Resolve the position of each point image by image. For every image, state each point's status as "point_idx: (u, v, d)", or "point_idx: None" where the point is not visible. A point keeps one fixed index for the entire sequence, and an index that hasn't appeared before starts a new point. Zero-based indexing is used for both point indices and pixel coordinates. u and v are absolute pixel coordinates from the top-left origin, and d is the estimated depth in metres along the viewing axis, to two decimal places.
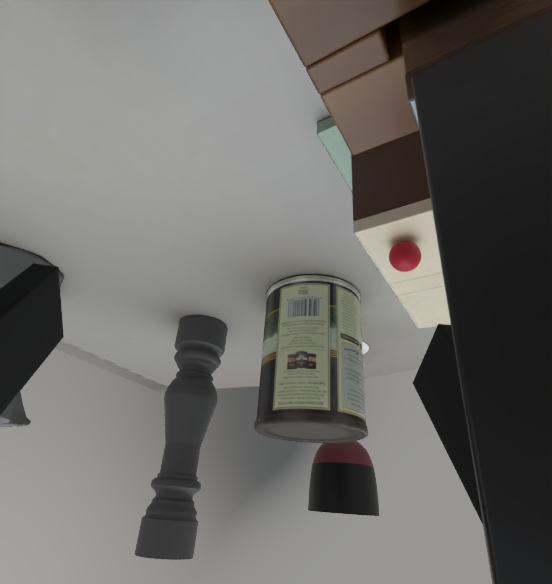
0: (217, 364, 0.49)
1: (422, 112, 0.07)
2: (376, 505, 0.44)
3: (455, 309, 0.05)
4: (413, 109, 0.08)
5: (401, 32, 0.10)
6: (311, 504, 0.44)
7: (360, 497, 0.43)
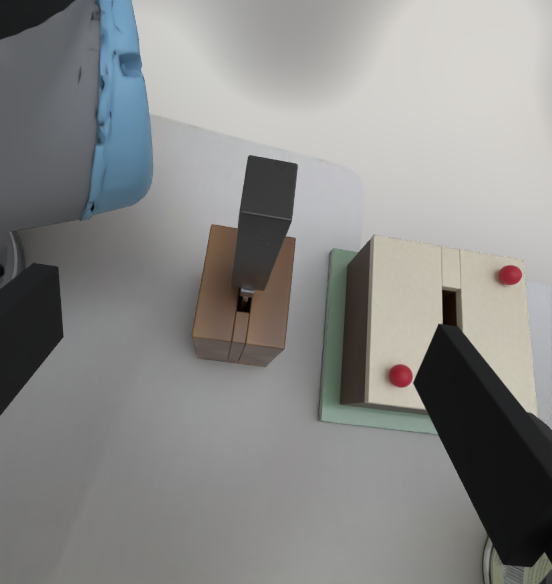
0: None
1: (232, 278, 0.22)
2: None
3: None
4: (244, 291, 0.23)
5: (241, 304, 0.26)
6: None
7: None
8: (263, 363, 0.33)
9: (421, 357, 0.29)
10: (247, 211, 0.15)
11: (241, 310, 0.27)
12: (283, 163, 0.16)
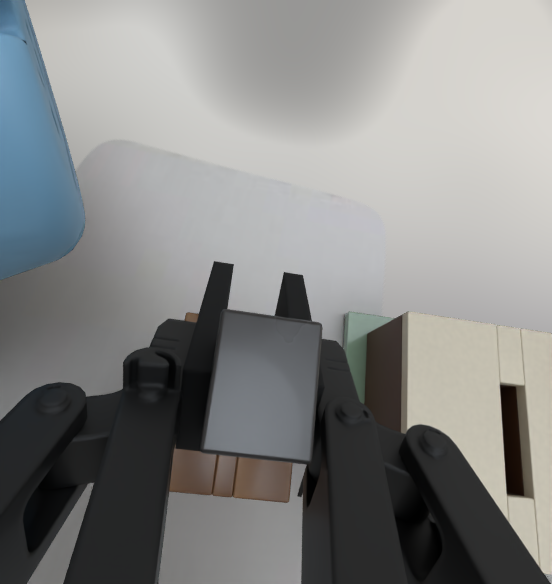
0: None
1: None
2: None
3: None
4: None
5: None
6: None
7: None
8: None
9: None
10: (216, 447, 0.07)
11: None
12: (292, 324, 0.08)
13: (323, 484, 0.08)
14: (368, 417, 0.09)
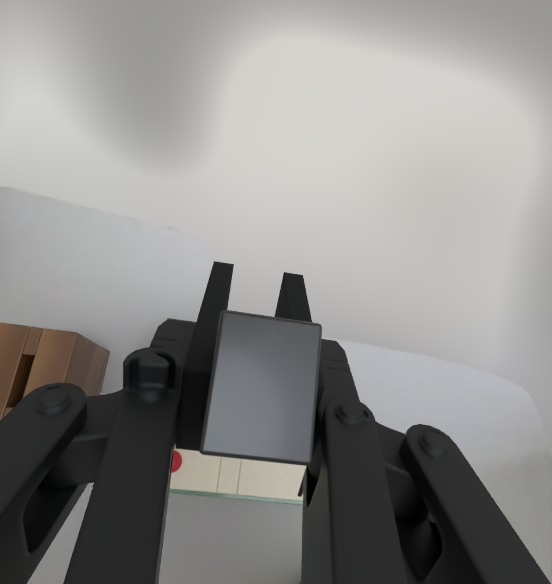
0: None
1: None
2: None
3: None
4: None
5: None
6: None
7: None
8: None
9: None
10: (215, 449, 0.07)
11: None
12: (292, 325, 0.08)
13: (323, 484, 0.08)
14: (368, 416, 0.09)
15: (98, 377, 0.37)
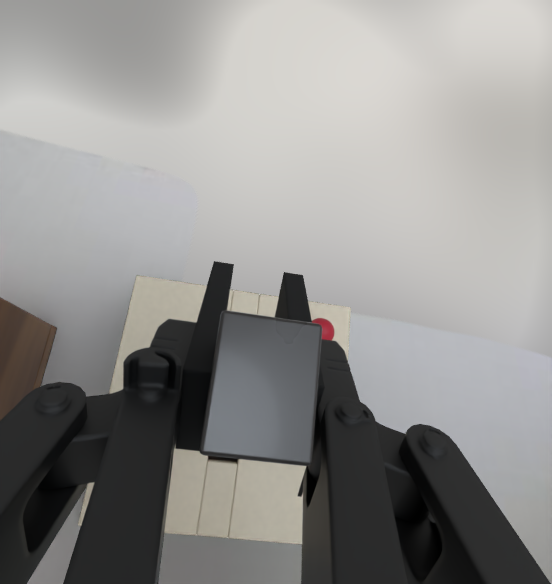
0: None
1: None
2: None
3: None
4: None
5: None
6: None
7: None
8: None
9: (174, 453, 0.21)
10: (215, 449, 0.07)
11: None
12: (292, 325, 0.08)
13: (323, 484, 0.08)
14: (368, 417, 0.09)
15: (35, 361, 0.26)
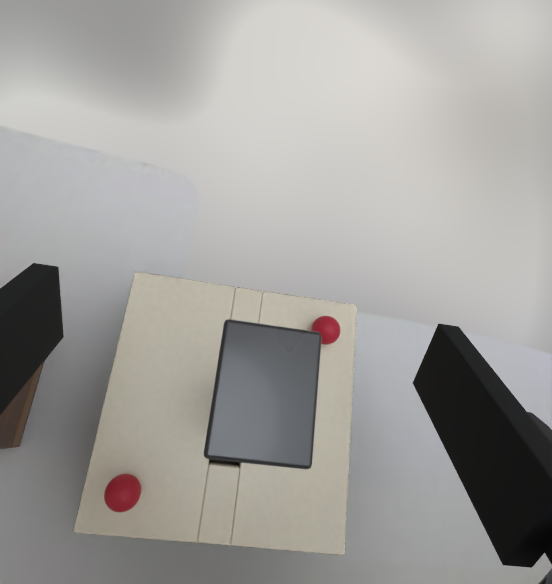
0: None
1: None
2: None
3: None
4: None
5: None
6: None
7: None
8: None
9: (174, 457, 0.20)
10: (219, 453, 0.07)
11: None
12: (293, 334, 0.08)
13: None
14: None
15: None
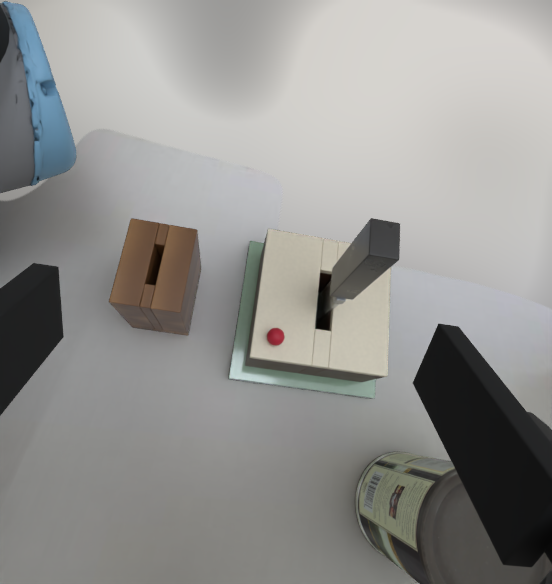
0: None
1: (334, 290, 0.32)
2: None
3: (349, 274, 0.28)
4: (339, 299, 0.33)
5: (329, 308, 0.36)
6: None
7: None
8: (182, 331, 0.41)
9: (296, 324, 0.37)
10: (373, 253, 0.25)
11: (326, 313, 0.37)
12: (391, 223, 0.26)
13: None
14: None
15: (196, 284, 0.43)
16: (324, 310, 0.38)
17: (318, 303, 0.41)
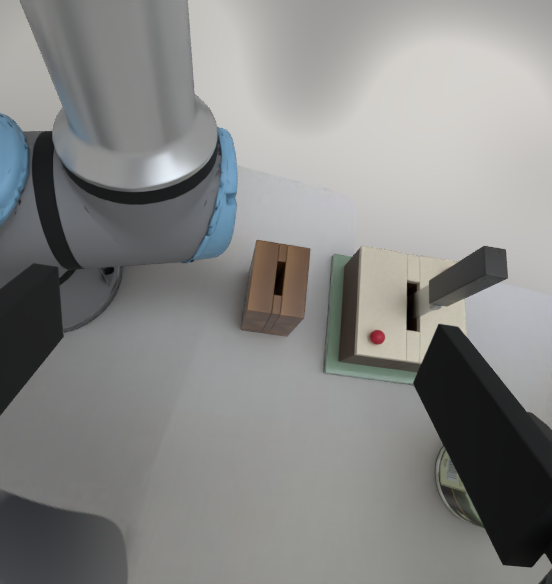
0: None
1: (435, 299, 0.39)
2: None
3: (458, 288, 0.36)
4: (436, 306, 0.41)
5: (422, 313, 0.43)
6: None
7: None
8: (286, 332, 0.49)
9: (391, 326, 0.45)
10: (488, 273, 0.32)
11: (417, 317, 0.45)
12: (499, 249, 0.33)
13: None
14: None
15: None
16: (413, 314, 0.45)
17: None
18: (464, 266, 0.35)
